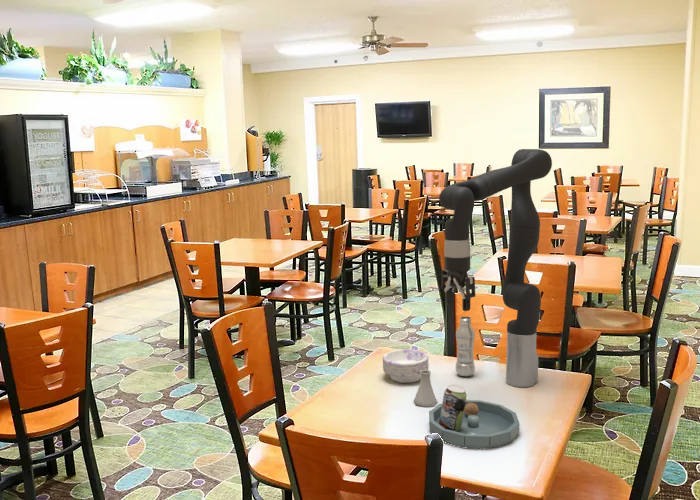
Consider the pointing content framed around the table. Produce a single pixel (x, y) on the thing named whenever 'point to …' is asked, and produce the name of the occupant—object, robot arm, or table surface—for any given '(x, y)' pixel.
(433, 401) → the flask
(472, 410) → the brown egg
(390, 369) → the paper bowls
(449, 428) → the beverage can
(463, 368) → the plastic bottle
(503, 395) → the table surface
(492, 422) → the tray
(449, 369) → the table surface
